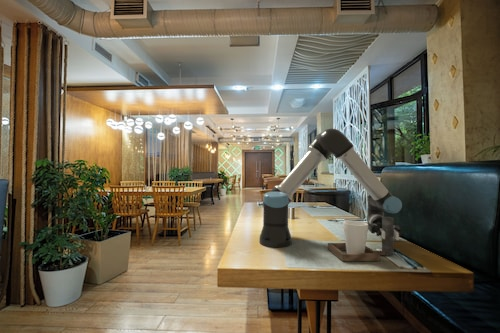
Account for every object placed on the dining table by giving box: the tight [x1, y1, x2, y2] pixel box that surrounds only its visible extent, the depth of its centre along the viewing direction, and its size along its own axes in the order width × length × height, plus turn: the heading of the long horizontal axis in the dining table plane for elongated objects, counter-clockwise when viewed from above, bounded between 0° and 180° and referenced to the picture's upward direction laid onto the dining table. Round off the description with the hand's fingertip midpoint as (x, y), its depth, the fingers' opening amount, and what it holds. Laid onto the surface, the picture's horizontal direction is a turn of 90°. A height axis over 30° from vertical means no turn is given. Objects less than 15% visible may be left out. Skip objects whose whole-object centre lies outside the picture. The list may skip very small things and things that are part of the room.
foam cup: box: [342, 220, 369, 253], centre depth 99 cm, size 10×9×13 cm
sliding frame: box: [327, 216, 395, 262], centre depth 99 cm, size 24×14×15 cm, turn 94°
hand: (390, 236), depth 95 cm, fingers closed on sliding frame, 4 cm apart
